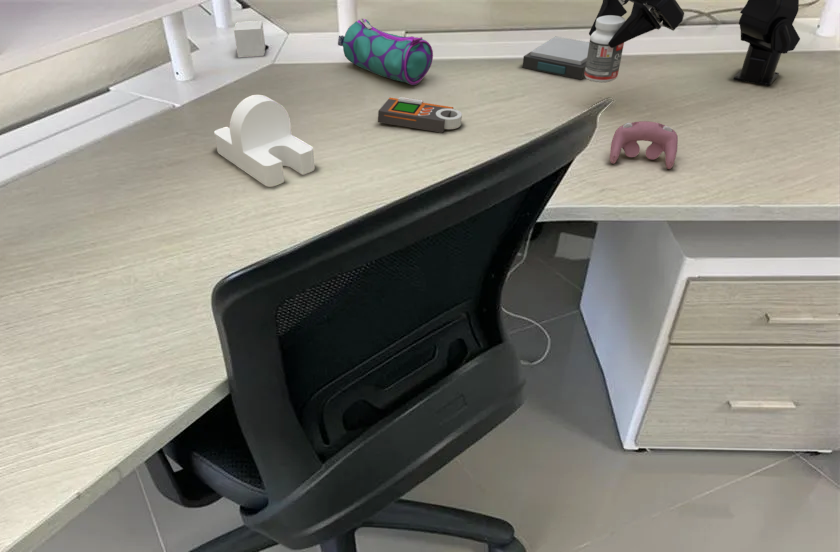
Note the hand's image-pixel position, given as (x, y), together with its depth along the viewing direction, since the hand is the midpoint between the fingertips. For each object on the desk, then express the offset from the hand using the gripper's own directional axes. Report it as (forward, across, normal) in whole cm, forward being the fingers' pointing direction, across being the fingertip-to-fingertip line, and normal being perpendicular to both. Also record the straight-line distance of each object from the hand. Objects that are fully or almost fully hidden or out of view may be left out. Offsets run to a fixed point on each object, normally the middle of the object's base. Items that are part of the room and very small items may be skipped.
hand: (599, 40), depth 121 cm
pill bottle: (+4, 0, +6) cm, 7 cm away
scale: (+3, -22, +14) cm, 26 cm away
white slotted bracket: (+51, -3, -34) cm, 61 cm away
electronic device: (+30, -7, -13) cm, 33 cm away
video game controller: (+11, +21, +7) cm, 24 cm away
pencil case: (+28, -32, -11) cm, 45 cm away
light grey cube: (+45, -58, -28) cm, 79 cm away
